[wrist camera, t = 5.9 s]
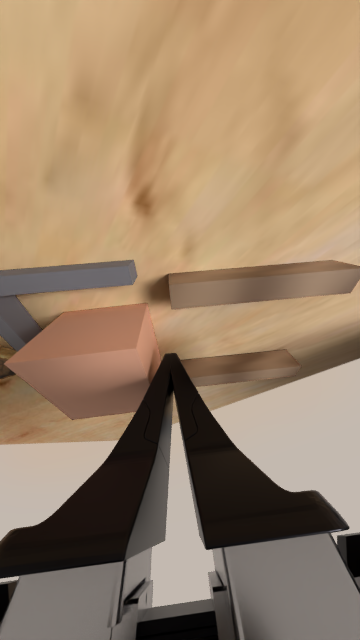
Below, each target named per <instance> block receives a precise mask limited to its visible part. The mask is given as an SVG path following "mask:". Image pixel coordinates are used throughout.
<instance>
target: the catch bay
mask: <svg viewBox="0 0 360 640" xmlns="http://www.w3.org/2000/svg"><path fill="white" fill-rule="evenodd" d="M136 278H137V273H136V268H135V264H134V260H126V261H113V262H100V263H88V264H75V265H63V266H50V267H38V268H25V269H13V270H0V336H2V337H3V338H4V339H5V340H6V341H7V342H8V343H9V344H10V345H11V346H12V347H13V348H14V349H15V350H16V351H17V352H18V351H19V350H20V349H21V348H23V347H24V346H25V345H26V344H27V343H28V342H30V341H31V340H32V339H33V338H34V337H35V336H37V335H38V334H39V333H40V332H41V331H42V329H41V328H40V327H39V326H38V324H37V323H36V322H35V320H34V319H33V318H32V317H31V315H30V314H29V313H28V311H27V310H26V309H25V308H24V306H23V305H22V304H21V302H20V301H19V300H18V299H17V297H16V296H15V295H18V294H30V293H42V292H54V291H65V290H77V289H89V288H101V287H112V286H124V285H133V283H134V282H135V280H136Z"/></svg>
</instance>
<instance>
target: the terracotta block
mask: <svg viewBox="0 0 360 640" xmlns="http://www.w3.org/2000/svg"><path fill="white" fill-rule="evenodd" d="M160 363H161V357H160V353H159V349H158V345H157V341H156V337H155V332H154V328H153V324H152V320H151V316H150V312H149V308H148V304H147V303H142V304H133V305H124V306H116V307H107V308H98V309H89V310H80V311H71V312H63V313H62V314H61V315H60V316H59V317H58V318H56V319H55V320H54V321H53V322H52V323H51V324H49V325H48V326H47V327H46V328H45V329H44V330H42V331H41V332H40V333H39V334H38V335H37V336H35V337H34V338H33V339H32V340H31V341H30V342H28V343H27V344H26V345H25V346H24V347H23V348H21V349H20V350H19V351H18V352H17V353H16V354H15V355H13V356H12V357H11V358H10V359H9V360H8V361H6V362H5V363H4V365H6V366H7V367H8V368H9V369H11V370H12V371H13V372H14V373H15V374H17V375H18V376H19V377H20V378H22V379H23V380H24V381H25V382H27V383H28V384H29V385H30V386H31V387H33V388H34V389H35V390H36V391H38V392H39V393H40V394H41V395H42V396H44V397H45V398H46V399H47V400H49V401H50V402H51V403H52V404H54V405H55V406H56V407H57V408H58V409H60V410H61V411H62V412H63V413H65V414H66V415H67V416H68V417H69V418H71V419H72V420H74V419H82V418H90V417H98V416H106V415H114V414H122V413H130V412H136V411H137V409H138V407H139V406H140V404H141V402H142V400H143V398H144V396H145V394H146V392H147V390H148V388H149V386H150V384H151V382H152V380H153V378H154V376H155V374H156V372H157V370H158V368H159V366H160Z"/></svg>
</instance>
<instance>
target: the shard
mask: <svg viewBox="0 0 360 640" xmlns="http://www.w3.org/2000/svg"><path fill="white" fill-rule="evenodd" d="M16 353H17V351H16V350H13V349H8V348H4V347H0V379H4V378H6V377H10V376H13V375H16V374H15V373H14V372H13V371H12V370H11V369H9V368H8V367H7V366H6V365H4V363H5V362H6V361H8V360H9V359H10V358H11V357H12V356H13V355H15V354H16Z"/></svg>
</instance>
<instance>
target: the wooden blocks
mask: <svg viewBox="0 0 360 640" xmlns="http://www.w3.org/2000/svg"><path fill="white" fill-rule="evenodd" d="M359 279H360V266H357V265H352V264H347V263H343V262H338V261H334V260H328V261H316V262H304V263H292V264H280V265H268V266H256V267H244V268H232V269H221V270H209V271H197V272H185V273H173V274H169V290H170V299H171V309H181V308H192V307H203V306H214V305H225V304H236V303H247V302H258V301H269V300H280V299H291V298H302V297H313V296H324V295H335V294H346V293H351V291H352V290H353V288H354V287H355V285H356V284H357V282H358V281H359ZM180 361H181V362H182V364H183V366H184V368H185V370H186V371H187V373H188V375H189V377H190V378H191V380H192V382H193V384H194V386H195V387H199V386H208V385H217V384H227V383H236V382H245V381H254V380H263V379H272V378H282V377H291V376H295V375H296V374H297V372H298V371H299V369H300V368H301V365H300V364H299V363H298V362H297V361H296V359H295V358H294V357H293V356H292V355H291V354H290V353H289V352H288V351H287V350H277V351H267V352H258V353H248V354H238V355H228V356H219V357H209V358H199V359H189V360H180Z"/></svg>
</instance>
